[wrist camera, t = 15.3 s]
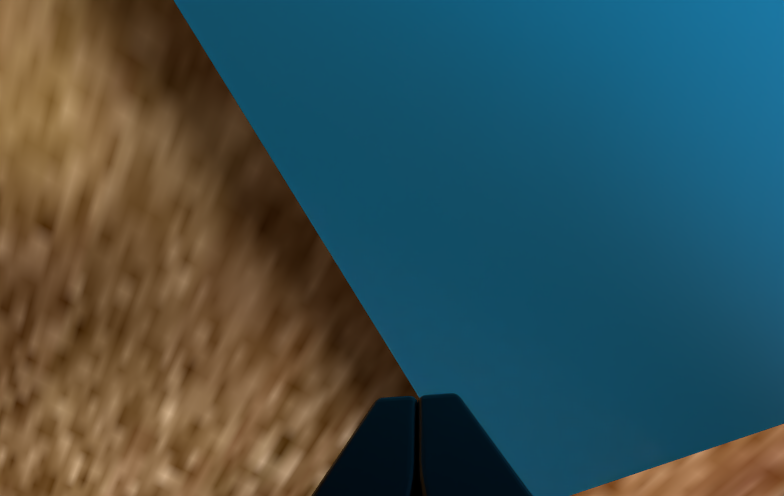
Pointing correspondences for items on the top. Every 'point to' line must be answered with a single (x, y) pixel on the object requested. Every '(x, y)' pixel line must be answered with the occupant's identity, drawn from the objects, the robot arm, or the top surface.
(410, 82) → the book
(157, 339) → the top surface
